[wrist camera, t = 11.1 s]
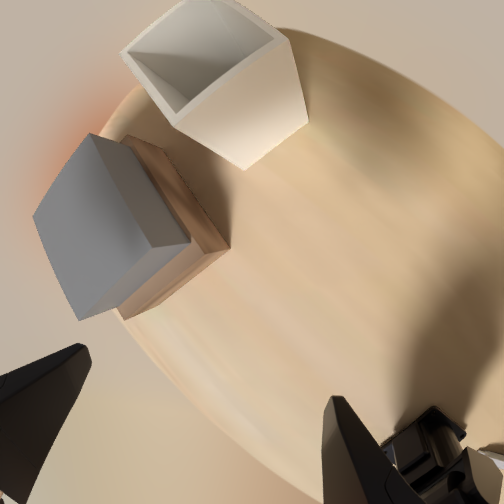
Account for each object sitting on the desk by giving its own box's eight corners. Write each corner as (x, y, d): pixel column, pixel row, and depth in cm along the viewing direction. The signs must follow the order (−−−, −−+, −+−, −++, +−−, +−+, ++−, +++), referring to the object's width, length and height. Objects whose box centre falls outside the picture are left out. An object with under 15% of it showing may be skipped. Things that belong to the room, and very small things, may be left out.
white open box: (308, 121, 18) (289, 38, 9) (244, 171, 20) (173, 127, 10) (255, 67, 19) (206, -17, 9) (197, 112, 20) (118, 54, 11)
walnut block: (230, 248, 21) (204, 254, 16) (157, 305, 23) (124, 320, 18) (161, 148, 21) (127, 134, 17) (102, 210, 23) (66, 209, 19)
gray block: (191, 242, 16) (152, 247, 13) (119, 306, 18) (78, 321, 14) (130, 146, 17) (89, 132, 13) (72, 216, 19) (32, 216, 15)
